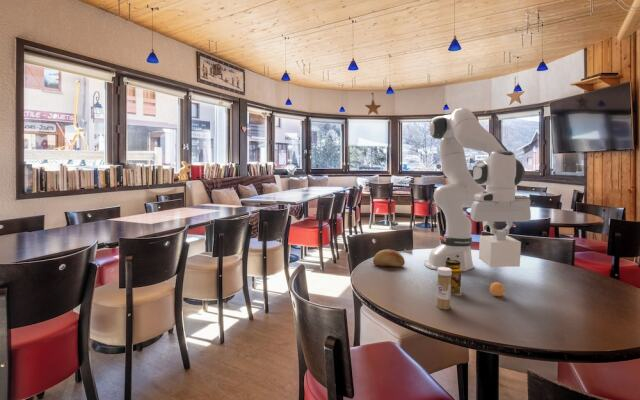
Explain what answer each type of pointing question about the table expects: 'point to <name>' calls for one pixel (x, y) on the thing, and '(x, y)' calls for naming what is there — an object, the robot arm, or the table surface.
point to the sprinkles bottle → (444, 287)
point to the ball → (497, 289)
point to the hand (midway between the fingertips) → (499, 233)
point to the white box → (500, 250)
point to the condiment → (455, 276)
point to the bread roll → (388, 258)
